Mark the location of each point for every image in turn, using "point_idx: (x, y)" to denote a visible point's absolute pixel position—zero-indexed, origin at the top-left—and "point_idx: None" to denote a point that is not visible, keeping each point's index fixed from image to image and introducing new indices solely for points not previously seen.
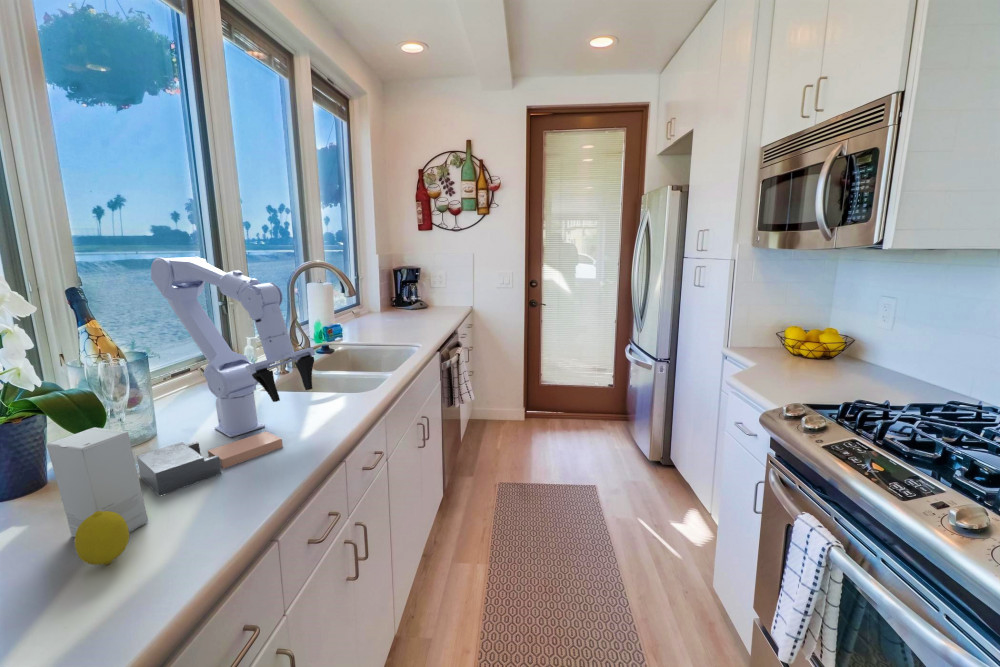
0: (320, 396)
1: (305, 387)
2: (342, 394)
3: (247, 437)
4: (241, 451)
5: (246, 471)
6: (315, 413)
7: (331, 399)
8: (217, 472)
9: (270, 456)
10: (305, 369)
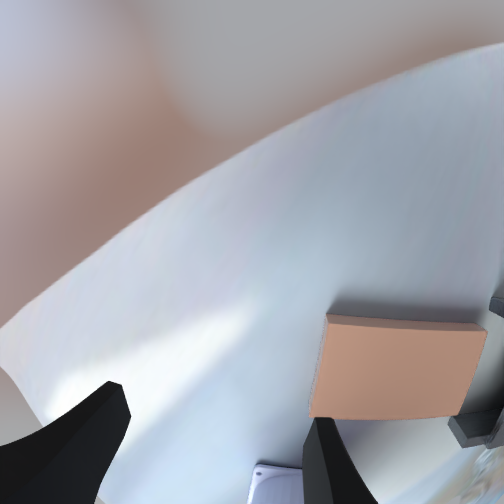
0: None
1: (124, 423)
2: None
3: (366, 419)
4: (443, 339)
5: (466, 252)
6: None
7: None
8: (500, 299)
9: (387, 283)
10: (52, 473)
